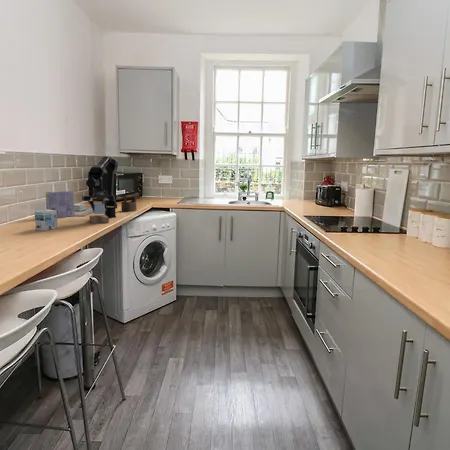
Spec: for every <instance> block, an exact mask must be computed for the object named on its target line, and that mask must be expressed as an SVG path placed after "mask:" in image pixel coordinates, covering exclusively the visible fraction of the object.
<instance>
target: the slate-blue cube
mask: <svg viewBox="0 0 450 450" xmlns="http://www.w3.org/2000/svg"><path fill="white" fill-rule="evenodd" d="M93 204H94V211H93V210H92V214H94V215H105V204H103V203H102V202H95V203H94V202H93Z"/></svg>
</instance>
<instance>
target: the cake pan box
mask: <svg viewBox="0 0 450 450" xmlns="http://www.w3.org/2000/svg"><path fill="white" fill-rule="evenodd" d="M74 193H75V191H74V190H64V191H63V190H62V191H61V190H60V191H45V207H46V208H45V210H46V209H49V210H57V219H59V218H66V217H74V216H76V211H75V210H76V209H75V194H74Z"/></svg>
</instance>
